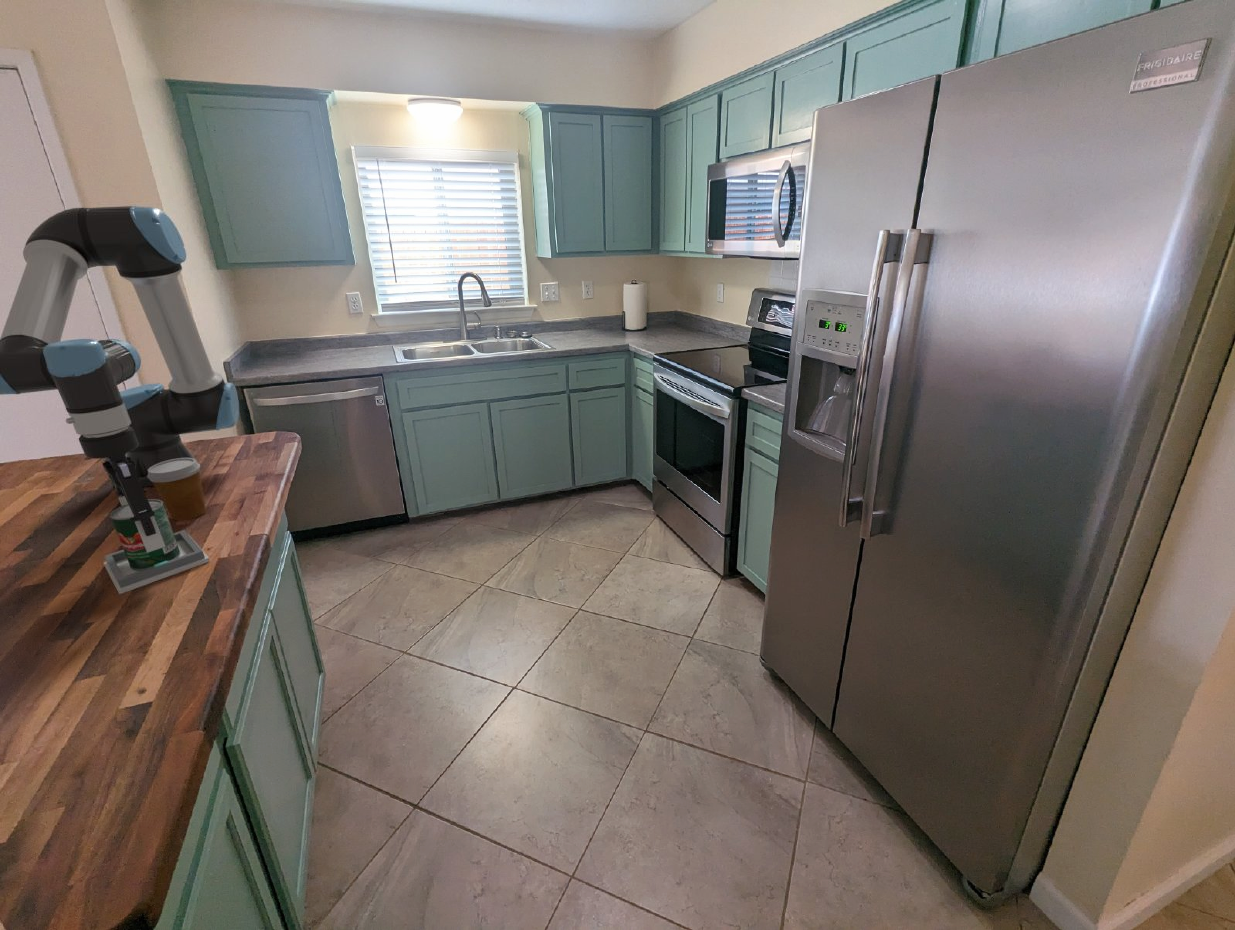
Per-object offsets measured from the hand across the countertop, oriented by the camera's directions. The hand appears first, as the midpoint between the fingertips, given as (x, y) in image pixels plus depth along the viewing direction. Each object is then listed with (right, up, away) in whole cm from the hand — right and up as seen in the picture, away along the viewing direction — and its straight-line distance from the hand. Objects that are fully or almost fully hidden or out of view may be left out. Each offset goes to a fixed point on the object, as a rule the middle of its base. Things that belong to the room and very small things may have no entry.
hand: (147, 536), depth 110 cm
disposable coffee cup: (-8, +2, +21) cm, 23 cm away
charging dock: (0, -5, +2) cm, 6 cm away
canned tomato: (0, -5, +2) cm, 5 cm away
